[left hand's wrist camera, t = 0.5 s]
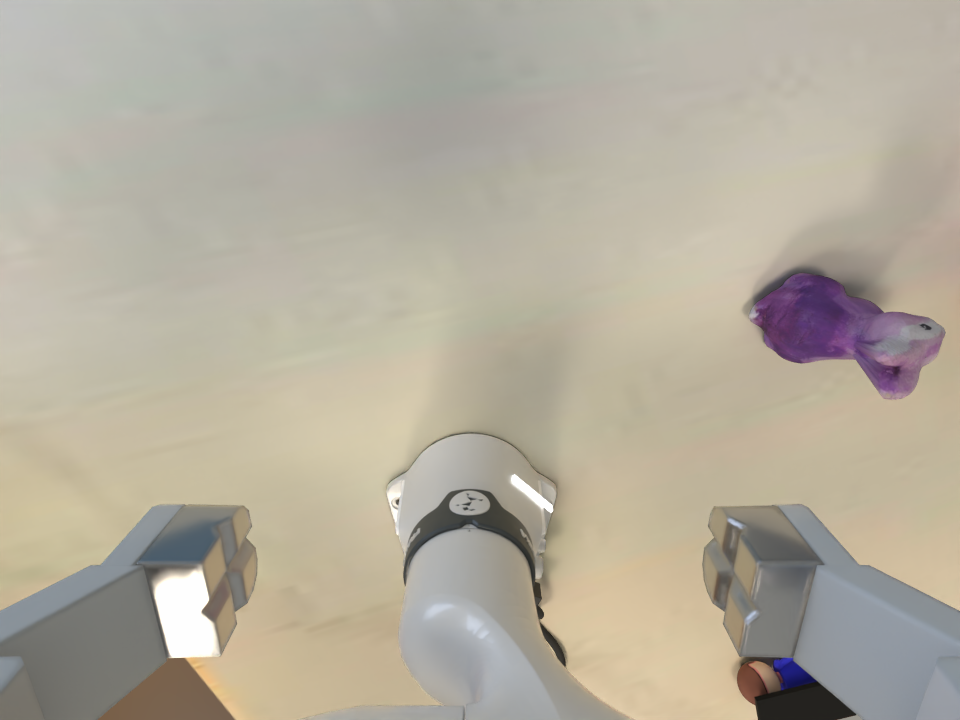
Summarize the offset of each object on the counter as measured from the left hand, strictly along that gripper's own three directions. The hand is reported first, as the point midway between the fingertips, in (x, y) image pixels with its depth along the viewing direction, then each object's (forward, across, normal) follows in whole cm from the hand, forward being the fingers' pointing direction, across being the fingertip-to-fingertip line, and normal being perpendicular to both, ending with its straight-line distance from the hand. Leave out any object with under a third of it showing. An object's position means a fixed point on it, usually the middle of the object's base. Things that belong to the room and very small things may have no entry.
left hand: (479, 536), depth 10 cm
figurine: (+48, +32, -9) cm, 58 cm away
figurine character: (+48, +39, -55) cm, 83 cm away
